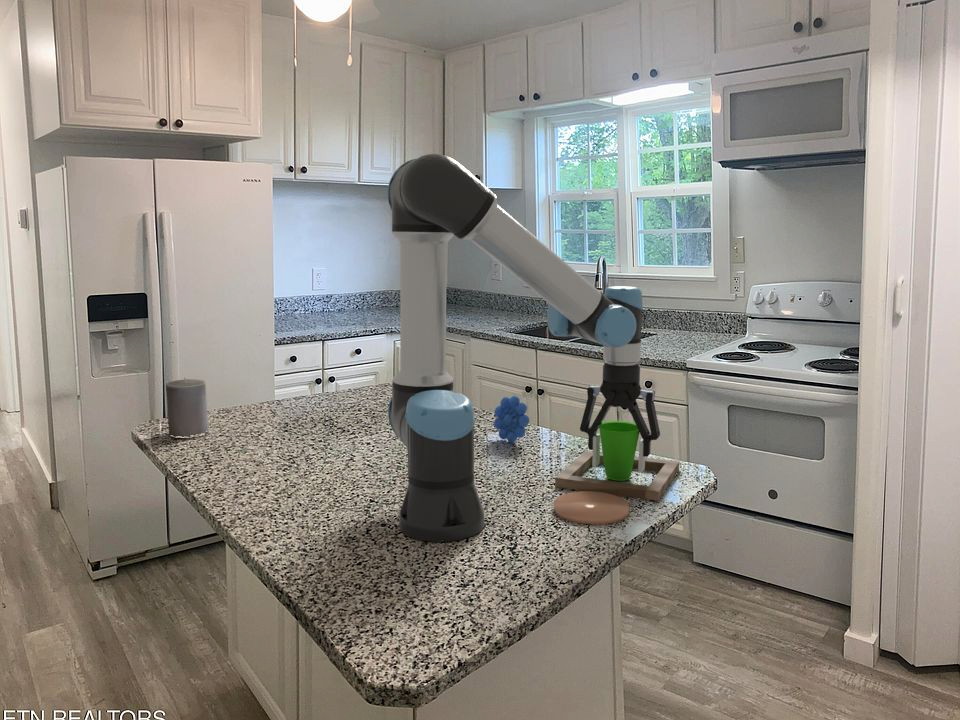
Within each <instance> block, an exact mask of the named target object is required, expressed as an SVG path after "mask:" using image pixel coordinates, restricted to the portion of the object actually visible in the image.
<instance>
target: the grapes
mask: <svg viewBox="0 0 960 720" xmlns="http://www.w3.org/2000/svg"><path fill="white" fill-rule="evenodd" d="M499 402H500V403H499V405H497V406H496V407H495V408H494V409H495V410H494V415H495V417H496V419H495V420H494V422H493V426H494V428H495V429H496V430H499V431H498V437H499V438H500V439H501V440H507V442H509V443H512V444H513V443H516V441H517V440H518V439H522V438H523V437H524V436H525V435H526V431H527V430H526V428H527V426H529V424H530V417H529V416H528V415H527V414H526V413H527V411H528V406H527V404H526V403H525V402H521V399H520V398H519V397H518V396H517V395H512V396H511V397H510V398H509V397H508V396H505V397H503V398H501V400H500V401H499ZM525 427H526V428H525Z"/></svg>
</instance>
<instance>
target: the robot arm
mask: <svg viewBox="0 0 960 720" xmlns="http://www.w3.org/2000/svg"><path fill="white" fill-rule="evenodd" d="M497 197H498V196H497V195H496V194H495V193H494V192H493V191H492V190H491V189H489V188H488V187H487V186H486V185H485V184H484V183H482V181H480V180H479V179H478V178H477V177H476V176H475V175H474V174H472V173H471V171H469V170H468V169H467V168H466V167H465V166H463V165H462V164H461V163H459V162H458V161H457V160H455V159H454V158H452V157H449V156H448V155H444V154H441V153H440V154H439V153H428V154H424V155H421V156H419V157H417V158H412V159H410V160H408V161H406V162H404V163H402V164H401V165H400V166H399V167H398V168H397V169H396V170H395V171H394V172H393V174H392V175H391V177H390V180H389V182H388V185H387V200H388V205H389V208H390V210H391V234H392V235H393V236H394V237H395V238H396V239H397V241H398V242H399V243H400V244H399V245H400V248H399V249H400V252H399V253H400V256H399V257H400V262H399V265H400V279H399V280H400V281H399V282H400V283H399V284H400V287H399V288H400V290H399V291H400V294H399V296H400V297H399V298H400V309H399V310H400V311H399V312H400V315H399V316H400V317H399V319H400V321H399V322H400V324H399V325H400V326H399V327H400V328H399V329H400V330H399V331H400V342H399V343H400V345H399V346H400V350H399V353H400V357H399V358H400V362H399V363H400V365H399V366H400V367H399V369H400V370H399V371H398V372H397V373H396V374H395V375H394V376H393V377H392V384H391V385H392V386H391V388H392V389H391V393H392V396H391V398H390V400H389V403H388V408H387V417H388V418H387V419H388V422H389V425H390V428H391V429H392V431H393V433H394V435H396V437H397V438H398V439H399V440H400V441H401V442H402V443H403V444H404V446H405V448H406V449H407V473H408V474H407V476H408V477H407V478H408V479H407V480H408V483H407V488H406V491H405V494H404V499H403V502H402V505H401V509H400V511H399V514H398V515H399V517H398V518H399V523H398V525H399V530H400V532H402V533H403V534H404V535H405V536H407V537H409V538H411V539H414V540H420V541H424V542H432V543H433V542H435V543H436V542H437V543H438V542H439V543H440V542H441V543H442V542H453V541H460V540H465V539H467V538H471V537H473V536H476V535H477V534H479V533H480V532H481V531H482V530H483V529H484V528H485V509H484V508H483V505H482V502H481V499H480V497H479V493H478V490H477V487H476V484H475V437H474V436H475V428H474V425H475V423H476V419H475V414H474V407H473V403H472V401H471V399H470V398H469V397H467V396H466V395H464V394H462V393H460V392H454V378H453V376H452V375H451V374H450V373H448V371H447V370H446V369H447V366H446V365H447V363H446V361H447V360H446V359H447V355H446V353H447V352H446V351H447V350H446V349H447V271H448V270H447V269H448V267H447V261H448V260H447V259H448V258H447V257H448V255H447V253H448V251H447V249H448V242H449V241H450V240H451V239H453V237H454V236H455V237H456V238H457V239H459V240H461V241H464V240H469V241H471V242H472V243H473V244H475V245H476V246H477V247H478V248H479V249H481V250H482V251H484V252H485V253H486V254H487V255H488V256H490V258H492V259H493V260H494V261H496V262H497V263H498V264H499V265H501V267H503V268H504V269H505V270H507V271H508V272H509V273H511V274H512V275H513V276H514V277H516V278H517V279H518V280H519V281H520V282H521V283H523V284H524V285H525V286H527V287H528V288H529V289H530V290H531V291H532V292H534V293H535V294H537V295H538V296H539V297H540V298H541V299H543V300H544V301H545V302H546V303H548V304H549V306H548V307H547V313H546V321H547V322H546V323H547V326H548V330H549V331H550V333H551V335H553V336H555V337H565V338H567V337H578V338H580V339H584V340H587V341H591V342H593V343H596V344H599V345H602V347H603V353H602V354H603V355H602V359H603V360H604V361H605V362H604V363H602V382H601V384H600V385H598V386H597V385H594V384H592V385H590V386H589V387H588V388H587V389H586V390H587V391H586V393H587V401H586V404H585V407H584V411H583V415H582V418H581V422H580V427H579V431H580V432H582V433H585V434H587V435H588V451H593V458H592V465H591V466H592V468H593V467H594V468H596V467H597V466H599V465H600V464H599V459H600V452H601V449H600V448H601V437H600V433H597V432H598V430H599V428H598V425H600V424H601V423H602V422H604V419H605V418H606V416H607V414H608V413H609V411H610V409H611V408H612V407H613V408H616V407H617V408H618V407H620V408H624V409H627V410H628V412H629V413H630V415H631V417H632V419H633V422H634V423H635V424H636V426H637V428H638V430H639V435H640V437H641V439H640V440H639V441H638V457H639V461H638V469H637V473H639V474H643V472H644V471H645V457H646V458H649V456H650V455H651V447H652V446H651V445H652V444H651V443H652V441H656V440H658V439H659V437H660V436H661V431H660V430H661V429H660V427H659V419H658V416H657V415H658V414H657V412H656V411H657V410H656V406H655V396H656V392H655V390H653V389H652V390H645V389H642V387H641V385H640V379H641V364H639V362H640V361H641V350H642V349H641V348H642V339H641V338H642V322H643V311H644V309H643V295H642V294H643V293H642V290H641V289H640V288H639V287H635V286H629V285H627V286H625V285H623V286H621V285H619V286H616V285H615V286H607V287H606V288H605V290H604V294H603V293H602V292H601V291H600V290H599V289H598V288H596V287H595V285H593V284H592V283H590V281H588V280H587V279H586V278H585V277H583V276H582V275H581V274H580V273H579V272H578V271H576V270H575V269H574V268H573V267H572V266H571V265H569V264H568V263H567V262H566V261H565V260H564V259H562V258H561V257H560V256H559V255H558V254H556V253H555V252H554V251H553V250H552V249H550V248H549V247H548V246H547V245H546V244H545V243H544V242H542V240H540V239H538V238H537V237H536V236H535V235H534V234H533V233H531V232H530V231H529V230H528V229H527V228H526V227H524V226H523V225H522V224H521V223H520V222H519V221H517V220H516V219H515V218H514V217H513V216H512V215H510V213H508V212H507V211H506V210H505V209H504V208H503V207H502V206H500V205H499V204H498V201H497ZM600 393H601V394H602V396H603V398H604V400H605V401H604V402H603V404H602V406H601V408H600V410H599V412H598V414H597V415H596V417H595V419H594V421H593V423H592V424H590V422H591V420H592V416H593V413H594V409H595V404H596V400H597V397H598V396H599V395H600ZM640 396H641V397H642V400H643V401H644V402H645V404H644V406H645V409H646V416H647V420H648V426H649V428H648V426H647V424H646V421H645V419H644V417H643V415H642V413H641V411H640V408H639V407H640V406H639V404H638V402H637V400H638V398H639V397H640ZM590 425H591V426H590Z"/></svg>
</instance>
